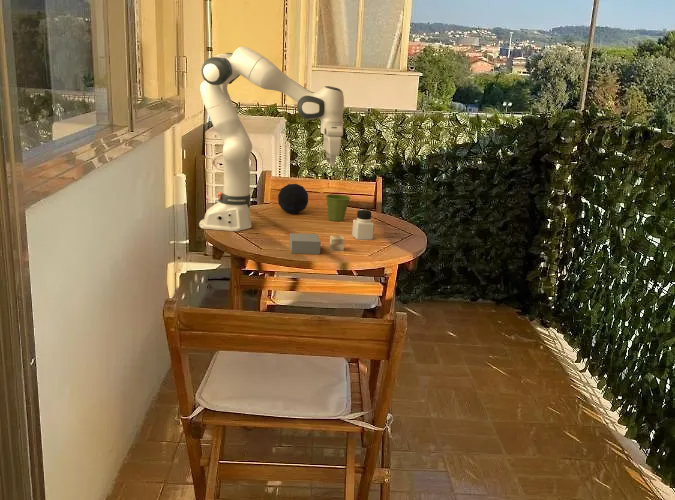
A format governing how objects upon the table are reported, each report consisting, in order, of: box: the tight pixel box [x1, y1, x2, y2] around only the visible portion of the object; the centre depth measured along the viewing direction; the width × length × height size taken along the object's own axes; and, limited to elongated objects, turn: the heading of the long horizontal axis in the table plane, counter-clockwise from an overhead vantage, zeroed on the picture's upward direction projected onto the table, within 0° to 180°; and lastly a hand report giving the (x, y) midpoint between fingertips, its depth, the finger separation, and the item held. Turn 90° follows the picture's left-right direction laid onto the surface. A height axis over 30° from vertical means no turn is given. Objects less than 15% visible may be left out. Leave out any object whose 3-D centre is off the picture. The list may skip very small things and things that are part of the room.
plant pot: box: [325, 193, 352, 222], centre depth 299 cm, size 12×12×11 cm
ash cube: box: [328, 235, 345, 252], centre depth 252 cm, size 5×5×5 cm
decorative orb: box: [277, 183, 309, 215], centre depth 306 cm, size 14×15×15 cm
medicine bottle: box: [351, 209, 375, 241], centre depth 271 cm, size 7×7×12 cm
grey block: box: [288, 232, 321, 255], centre depth 248 cm, size 11×11×5 cm
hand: (330, 164), depth 254 cm, fingers open, 8 cm apart
